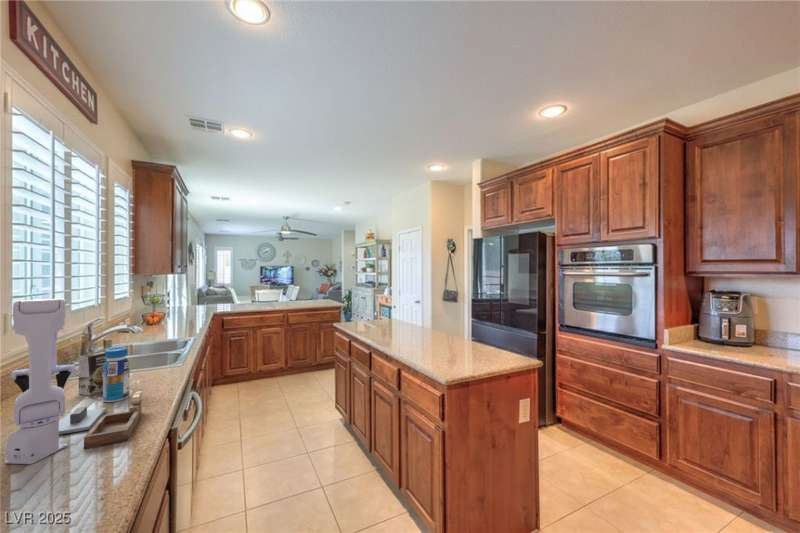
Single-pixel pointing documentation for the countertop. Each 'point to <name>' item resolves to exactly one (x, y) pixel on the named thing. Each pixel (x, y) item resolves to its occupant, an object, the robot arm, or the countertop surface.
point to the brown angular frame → (113, 427)
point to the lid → (80, 420)
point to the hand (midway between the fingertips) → (44, 395)
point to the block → (137, 397)
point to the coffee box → (91, 373)
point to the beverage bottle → (116, 375)
